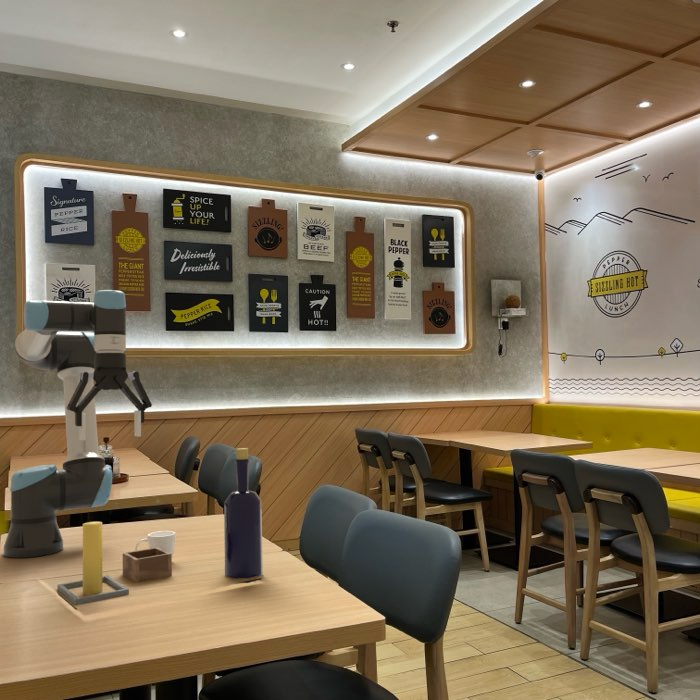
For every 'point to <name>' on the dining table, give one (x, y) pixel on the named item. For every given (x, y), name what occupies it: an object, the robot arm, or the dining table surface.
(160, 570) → the holder
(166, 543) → the cup
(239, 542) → the bottle
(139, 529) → the dining table surface
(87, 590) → the dowel
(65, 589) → the tray
